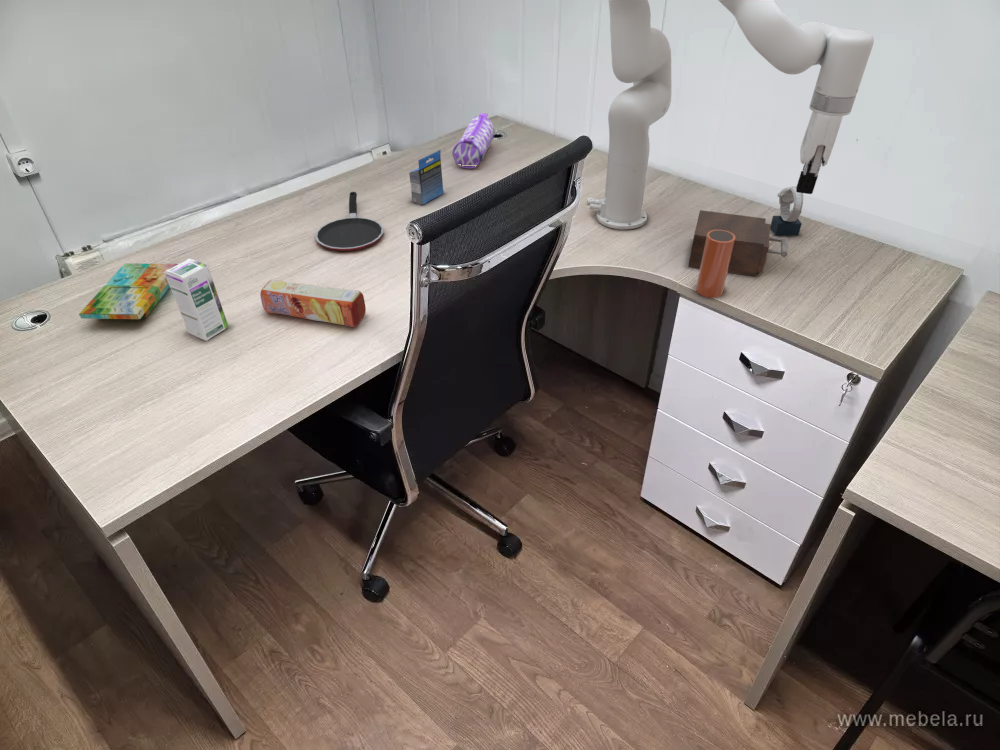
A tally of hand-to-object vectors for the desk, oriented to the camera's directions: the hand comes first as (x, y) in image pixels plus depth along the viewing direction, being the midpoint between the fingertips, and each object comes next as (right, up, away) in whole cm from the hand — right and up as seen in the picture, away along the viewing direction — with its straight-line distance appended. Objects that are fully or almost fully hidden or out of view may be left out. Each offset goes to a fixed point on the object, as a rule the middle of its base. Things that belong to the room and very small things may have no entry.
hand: (803, 191), depth 141 cm
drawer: (-8, -12, +12) cm, 19 cm away
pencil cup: (-19, -20, +3) cm, 28 cm away
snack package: (-102, -26, -2) cm, 105 cm away
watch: (+6, -3, +24) cm, 25 cm away
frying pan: (-101, -1, +29) cm, 105 cm away
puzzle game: (-141, -23, +3) cm, 143 cm away
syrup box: (-122, -30, -6) cm, 126 cm away
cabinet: (-12, -12, +14) cm, 22 cm away
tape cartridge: (-83, +9, +41) cm, 93 cm away
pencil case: (-71, +28, +63) cm, 99 cm away
